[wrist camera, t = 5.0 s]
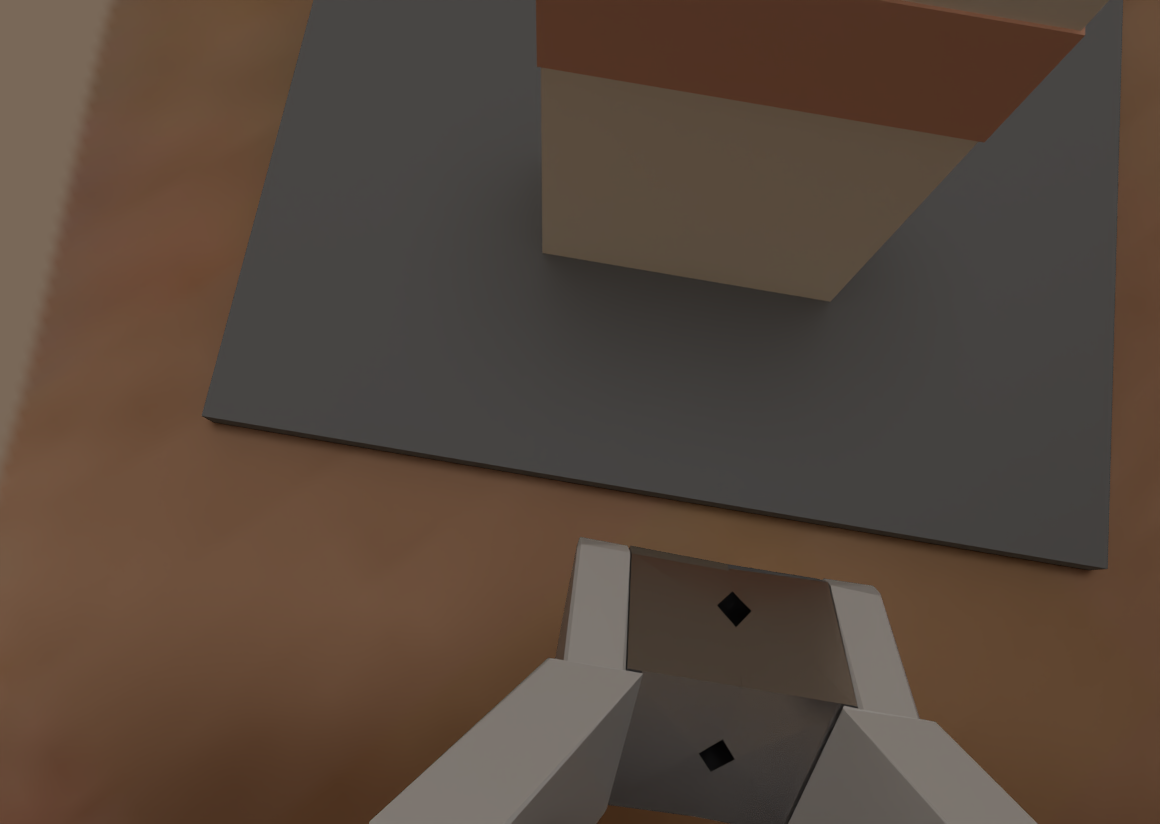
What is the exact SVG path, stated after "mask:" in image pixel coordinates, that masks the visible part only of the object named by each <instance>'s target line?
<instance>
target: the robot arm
mask: <svg viewBox="0 0 1160 824" xmlns="http://www.w3.org/2000/svg"><path fill="white" fill-rule="evenodd" d="M607 805H613V806H620V807H628V808H635V809H643V810H650V811H658V812H665V813H672V814H680V815H687V816H695V817H699V818H705V819H710V820H715V821H720V822H725V823H731V824H1037V823H1036V822H1035V821H1034V820H1033V819H1032V818H1031V817H1030V816H1029V815H1028V814H1027V813H1026V812H1025V811H1024V810H1023V809H1022V808H1021V807H1020V806H1019V805H1018V804H1017V803H1016V802H1015V801H1014V800H1013V799H1012V798H1011V797H1010V796H1009V795H1008V794H1007V793H1006V792H1005V791H1004V790H1003V789H1002V788H1001V787H1000V786H999V785H998V784H997V783H996V782H995V781H994V780H993V779H992V778H991V777H990V776H989V775H988V774H987V773H986V772H985V771H984V770H983V769H982V768H981V767H980V766H979V765H978V764H977V763H976V762H975V761H974V760H973V759H972V758H971V757H970V756H969V755H968V754H967V753H966V752H965V751H964V750H963V749H962V748H961V747H960V746H959V745H958V744H957V743H956V742H955V741H954V740H953V739H952V738H951V737H950V736H949V735H948V734H947V733H946V732H945V731H944V730H943V729H942V728H941V727H940V726H939V725H938V724H937V723H936V722H933V721H928V720H922V719H920V718H919V715H918V712H917V708H916V705H915V702H914V699H913V696H912V693H911V689H910V686H909V683H908V680H907V677H906V674H905V670H904V667H903V664H902V661H901V658H900V655H899V651H898V648H897V645H896V642H895V639H894V636H893V632H892V629H891V626H890V623H889V620H888V616H887V613H886V610H885V607H884V604H883V601H882V597H881V594H880V593H879V592H878V591H877V589H876V588H875V587H874V586H871V585H864V584H857V583H850V582H843V581H837V580H830V579H823V580H820V579H816V578H810V577H803V576H797V575H791V574H785V573H778V572H772V571H766V570H760V569H754V568H747V567H741V566H735V565H729V564H724V563H719V562H714V561H708V560H703V559H698V558H693V557H687V556H682V555H677V554H672V553H666V552H661V551H656V550H651V549H645V548H640V547H635V546H630V547H629V548H628V546H626V545H620V544H615V543H610V542H604V541H599V540H593V539H588V538H583V537H580V538H579V541H578V544H577V547H576V553H575V558H574V563H573V568H572V573H571V578H570V583H569V588H568V593H567V598H566V603H565V608H564V613H563V618H562V624H561V629H560V635H559V640H558V646H557V651H556V657H555V659H553V658H548V659H546V660H545V661H544V662H543V663H542V664H541V665H540V666H539V667H538V668H537V669H536V670H534V671H533V672H532V673H531V674H530V675H529V676H528V677H527V678H526V679H525V680H523V681H522V682H521V683H520V684H519V685H518V686H517V687H516V688H515V689H514V690H513V691H511V692H510V693H509V694H508V695H507V696H506V697H505V698H504V699H503V700H502V701H501V702H499V703H498V704H497V705H496V706H495V707H494V708H493V709H492V710H491V711H490V712H489V713H487V714H486V715H485V716H484V717H483V718H482V719H481V720H480V721H479V722H478V723H477V724H475V725H474V726H473V727H472V728H471V729H470V730H469V731H468V732H467V733H466V734H465V735H463V736H462V737H461V738H460V739H459V740H458V741H457V742H456V743H455V744H454V745H453V746H451V747H450V748H449V749H448V750H447V751H446V752H445V753H444V754H443V755H442V756H441V757H439V758H438V759H437V760H436V761H435V762H434V763H433V764H432V765H431V766H430V767H429V768H427V769H426V770H425V771H424V772H423V773H422V774H421V775H420V776H419V777H418V778H417V779H415V780H414V781H413V782H412V783H411V784H410V785H409V786H408V787H407V788H406V789H404V790H403V791H402V792H401V793H400V794H399V795H398V796H397V797H396V798H395V799H394V800H392V801H391V802H390V803H389V804H388V805H387V806H386V807H385V808H384V809H383V810H382V811H380V812H379V813H378V814H377V815H376V816H375V817H374V818H373V819H372V820H371V821H370V822H369V824H597V822H598V821H599V819H600V818H601V817H602V815H603V814H604V813H605V811H606V809H607Z"/></svg>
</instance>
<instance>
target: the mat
mask: <svg viewBox="0 0 1160 824" xmlns="http://www.w3.org/2000/svg"><path fill="white" fill-rule="evenodd" d="M1122 16H1123V0H1109V1H1108V2H1107V3H1106V4H1105V5H1104V7H1103V8H1102V9H1101V10H1100V11H1099V12H1098V13H1097V14H1096V15H1095V16H1094V17H1093V18H1092V20H1091V21H1090V22H1089V23H1088V24H1087V25H1086V26H1085V36H1084V37H1083V38H1082V39H1081V40H1080V41H1079V42H1078V43H1077V44H1076V45H1075V47H1074V48H1073V49H1072V50H1071V51H1070V52H1069V53H1068V54H1067V55H1066V56H1065V57H1064V58H1063V59H1062V60H1061V61H1060V63H1059V64H1058V65H1057V66H1056V67H1055V68H1054V69H1053V70H1052V71H1051V72H1050V73H1049V74H1048V75H1047V76H1046V77H1045V78H1044V80H1043V81H1042V82H1041V83H1040V84H1039V85H1038V86H1037V87H1036V88H1035V89H1034V90H1033V91H1032V92H1031V93H1030V94H1029V95H1028V97H1027V98H1026V99H1025V100H1024V101H1023V102H1022V103H1021V104H1020V105H1019V106H1018V107H1017V108H1016V109H1015V110H1014V111H1013V113H1012V114H1011V115H1010V116H1009V117H1008V118H1007V119H1006V120H1005V121H1004V122H1003V123H1002V124H1001V125H1000V126H999V127H998V128H997V130H996V131H995V132H994V133H993V134H992V135H991V136H990V137H989V138H988V139H987V140H986V141H985V142H978V143H977V144H976V145H975V146H974V147H973V148H972V149H971V150H970V151H969V152H968V153H967V155H966V156H965V157H964V158H963V159H962V160H961V161H960V162H959V163H958V164H957V165H956V166H955V168H954V169H953V170H952V171H951V172H950V173H949V174H948V175H947V176H946V177H945V178H944V179H943V181H942V182H941V183H940V184H939V185H938V186H937V187H936V188H935V189H934V190H933V191H932V192H931V193H930V195H929V196H928V197H927V198H926V199H925V200H924V201H923V202H922V203H921V204H920V205H919V206H918V208H917V209H916V210H915V211H914V212H913V213H912V214H911V215H910V216H909V217H908V218H907V219H906V220H905V222H904V223H903V224H902V225H901V226H900V227H899V228H898V229H897V230H896V231H895V232H894V233H893V235H892V236H891V237H890V238H889V239H888V240H887V241H886V242H885V243H884V244H883V245H882V246H881V247H880V249H879V250H878V251H877V252H876V253H875V254H874V255H873V256H872V257H871V258H870V259H869V260H868V262H867V263H866V264H865V265H864V266H863V267H862V268H861V269H860V270H859V271H858V272H857V273H856V274H855V276H854V277H853V278H852V279H851V280H850V281H849V282H848V283H847V284H846V285H845V286H844V287H843V289H842V290H841V291H840V292H839V293H838V294H837V295H836V296H835V297H834V298H833V299H832V300H831V302H829V301H823V300H817V299H811V298H806V297H800V296H794V295H788V294H782V293H776V292H770V291H764V290H758V289H752V288H746V287H741V286H735V285H729V284H723V283H717V282H711V281H705V280H699V279H693V278H687V277H682V276H676V275H670V274H664V273H658V272H652V271H646V270H640V269H634V268H628V267H622V266H617V265H611V264H605V263H599V262H593V261H587V260H581V259H575V258H569V257H563V256H557V255H552V254H546V253H542V141H541V67H537V42H536V0H314V1H313V4H312V8H311V12H310V16H309V19H308V23H307V27H306V30H305V34H304V38H303V42H302V45H301V49H300V53H299V56H298V60H297V64H296V68H295V71H294V75H293V79H292V83H291V86H290V90H289V94H288V97H287V101H286V105H285V109H284V112H283V116H282V120H281V123H280V127H279V131H278V135H277V138H276V142H275V146H274V149H273V153H272V157H271V161H270V164H269V168H268V172H267V175H266V179H265V183H264V187H263V190H262V194H261V198H260V201H259V205H258V209H257V213H256V216H255V220H254V224H253V227H252V231H251V235H250V239H249V242H248V246H247V250H246V253H245V257H244V261H243V265H242V268H241V272H240V276H239V280H238V283H237V287H236V291H235V294H234V298H233V302H232V306H231V309H230V313H229V317H228V320H227V324H226V328H225V332H224V335H223V339H222V343H221V346H220V350H219V354H218V358H217V361H216V365H215V369H214V372H213V376H212V380H211V384H210V387H209V391H208V395H207V398H206V402H205V406H204V410H203V413H202V416H203V417H205V418H207V419H208V420H210V421H212V422H216V423H222V424H228V425H234V426H240V427H246V428H252V429H257V430H263V431H269V432H275V433H281V434H287V435H293V436H299V437H305V438H311V439H317V440H323V441H329V442H334V443H340V444H346V445H352V446H358V447H364V448H370V449H376V450H382V451H388V452H394V453H400V454H406V455H411V456H417V457H423V458H429V459H435V460H441V461H447V462H453V463H459V464H465V465H471V466H477V467H483V468H488V469H494V470H500V471H506V472H512V473H518V474H524V475H530V476H536V477H542V478H548V479H554V480H559V481H565V482H571V483H577V484H583V485H589V486H595V487H601V488H607V489H613V490H619V491H625V492H631V493H636V494H642V495H648V496H654V497H660V498H666V499H672V500H678V501H684V502H690V503H696V504H702V505H708V506H713V507H719V508H725V509H731V510H737V511H743V512H749V513H755V514H761V515H767V516H773V517H779V518H785V519H790V520H796V521H802V522H808V523H814V524H820V525H826V526H832V527H838V528H844V529H850V530H856V531H861V532H867V533H873V534H879V535H885V536H891V537H897V538H903V539H909V540H915V541H921V542H927V543H933V544H938V545H944V546H950V547H956V548H962V549H968V550H974V551H980V552H986V553H992V554H998V555H1004V556H1010V557H1015V558H1021V559H1027V560H1033V561H1039V562H1045V563H1051V564H1057V565H1063V566H1069V567H1075V568H1081V569H1087V570H1098V569H1108V534H1109V497H1110V460H1111V423H1112V386H1113V349H1114V312H1115V275H1116V238H1117V201H1118V164H1119V127H1120V90H1121V53H1122Z"/></svg>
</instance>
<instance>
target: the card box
mask: <svg viewBox="0 0 1160 824" xmlns="http://www.w3.org/2000/svg"><path fill="white" fill-rule="evenodd" d="M1108 1H1109V0H536V42H537V67H541V141H542V253H546V254H552V255H557V256H563V257H569V258H575V259H581V260H587V261H593V262H599V263H605V264H611V265H617V266H622V267H628V268H634V269H640V270H646V271H652V272H658V273H664V274H670V275H676V276H682V277H687V278H693V279H699V280H705V281H711V282H717V283H723V284H729V285H735V286H741V287H746V288H752V289H758V290H764V291H770V292H776V293H782V294H788V295H794V296H800V297H806V298H811V299H817V300H823V301H829V302H831V300H832V299H833V298H834V297H835V296H836V295H837V294H838V293H839V292H840V291H841V290H842V289H843V287H844V286H845V285H846V284H847V283H848V282H849V281H850V280H851V279H852V278H853V277H854V276H855V274H856V273H857V272H858V271H859V270H860V269H861V268H862V267H863V266H864V265H865V264H866V263H867V262H868V260H869V259H870V258H871V257H872V256H873V255H874V254H875V253H876V252H877V251H878V250H879V249H880V247H881V246H882V245H883V244H884V243H885V242H886V241H887V240H888V239H889V238H890V237H891V236H892V235H893V233H894V232H895V231H896V230H897V229H898V228H899V227H900V226H901V225H902V224H903V223H904V222H905V220H906V219H907V218H908V217H909V216H910V215H911V214H912V213H913V212H914V211H915V210H916V209H917V208H918V206H919V205H920V204H921V203H922V202H923V201H924V200H925V199H926V198H927V197H928V196H929V195H930V193H931V192H932V191H933V190H934V189H935V188H936V187H937V186H938V185H939V184H940V183H941V182H942V181H943V179H944V178H945V177H946V176H947V175H948V174H949V173H950V172H951V171H952V170H953V169H954V168H955V166H956V165H957V164H958V163H959V162H960V161H961V160H962V159H963V158H964V157H965V156H966V155H967V153H968V152H969V151H970V150H971V149H972V148H973V147H974V146H975V145H976V144H977V143H978V142H985V141H986V140H987V139H988V138H989V137H990V136H991V135H992V134H993V133H994V132H995V131H996V130H997V128H998V127H999V126H1000V125H1001V124H1002V123H1003V122H1004V121H1005V120H1006V119H1007V118H1008V117H1009V116H1010V115H1011V114H1012V113H1013V111H1014V110H1015V109H1016V108H1017V107H1018V106H1019V105H1020V104H1021V103H1022V102H1023V101H1024V100H1025V99H1026V98H1027V97H1028V95H1029V94H1030V93H1031V92H1032V91H1033V90H1034V89H1035V88H1036V87H1037V86H1038V85H1039V84H1040V83H1041V82H1042V81H1043V80H1044V78H1045V77H1046V76H1047V75H1048V74H1049V73H1050V72H1051V71H1052V70H1053V69H1054V68H1055V67H1056V66H1057V65H1058V64H1059V63H1060V61H1061V60H1062V59H1063V58H1064V57H1065V56H1066V55H1067V54H1068V53H1069V52H1070V51H1071V50H1072V49H1073V48H1074V47H1075V45H1076V44H1077V43H1078V42H1079V41H1080V40H1081V39H1082V38H1083V37H1084V36H1085V26H1086V25H1087V24H1088V23H1089V22H1090V21H1091V20H1092V18H1093V17H1094V16H1095V15H1096V14H1097V13H1098V12H1099V11H1100V10H1101V9H1102V8H1103V7H1104V5H1105V4H1106V3H1107V2H1108Z"/></svg>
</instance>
